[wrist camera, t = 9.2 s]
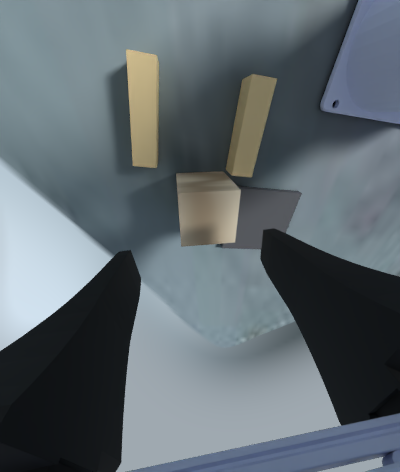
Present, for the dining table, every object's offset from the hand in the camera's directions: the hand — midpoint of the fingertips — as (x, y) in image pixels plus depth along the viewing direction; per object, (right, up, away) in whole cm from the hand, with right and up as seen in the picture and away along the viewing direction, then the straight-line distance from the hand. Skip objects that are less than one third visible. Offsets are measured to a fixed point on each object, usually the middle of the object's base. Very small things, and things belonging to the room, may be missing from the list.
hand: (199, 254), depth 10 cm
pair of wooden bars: (0, +9, +4) cm, 10 cm away
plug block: (0, +5, +7) cm, 8 cm away
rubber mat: (+6, +3, +9) cm, 11 cm away
